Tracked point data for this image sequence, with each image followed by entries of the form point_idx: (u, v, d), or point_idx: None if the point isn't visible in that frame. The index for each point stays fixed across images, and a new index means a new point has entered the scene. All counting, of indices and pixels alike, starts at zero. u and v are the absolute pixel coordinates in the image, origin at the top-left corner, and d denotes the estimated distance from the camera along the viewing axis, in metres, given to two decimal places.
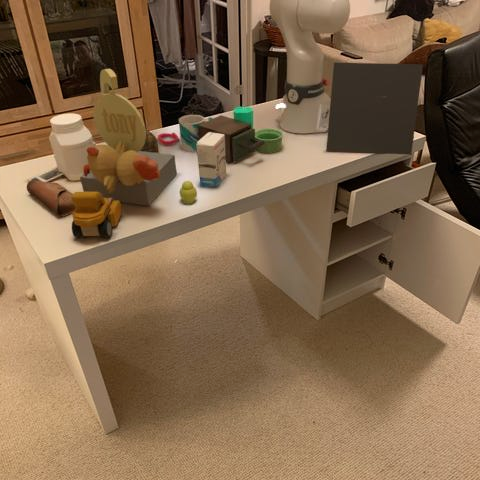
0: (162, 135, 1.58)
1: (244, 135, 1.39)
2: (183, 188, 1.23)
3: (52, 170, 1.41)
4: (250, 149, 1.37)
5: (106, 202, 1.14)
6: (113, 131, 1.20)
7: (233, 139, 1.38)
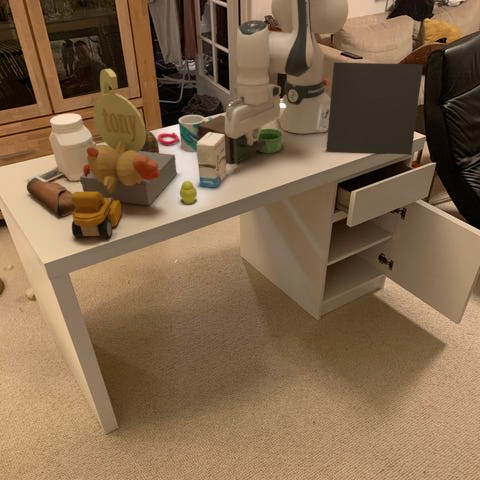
0: (162, 135, 1.58)
1: None
2: (183, 188, 1.23)
3: (52, 170, 1.41)
4: (251, 149, 1.37)
5: (106, 202, 1.14)
6: (113, 131, 1.20)
7: (234, 139, 1.37)
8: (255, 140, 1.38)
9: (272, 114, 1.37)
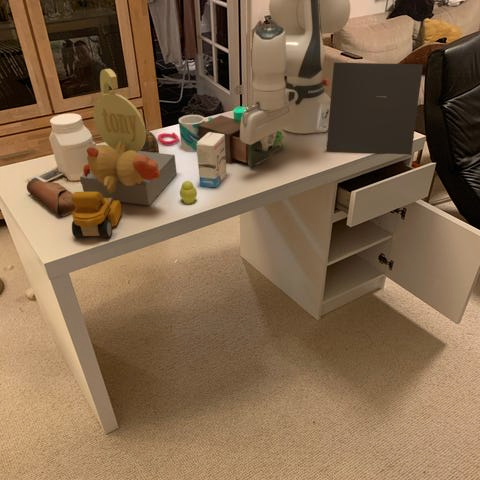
0: (162, 135, 1.58)
1: None
2: (183, 188, 1.23)
3: (52, 170, 1.41)
4: (266, 154, 1.34)
5: (106, 202, 1.14)
6: (113, 131, 1.20)
7: None
8: (270, 146, 1.36)
9: (287, 119, 1.35)
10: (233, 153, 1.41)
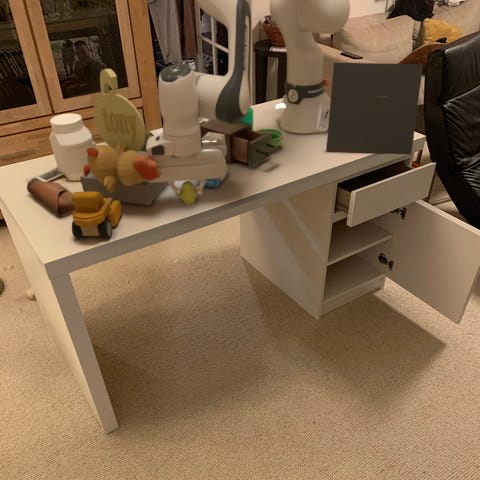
0: None
1: (261, 140, 1.37)
2: (183, 188, 1.23)
3: (52, 170, 1.41)
4: (267, 154, 1.34)
5: (106, 202, 1.14)
6: (113, 131, 1.20)
7: (250, 144, 1.35)
8: None
9: None
10: (234, 153, 1.41)
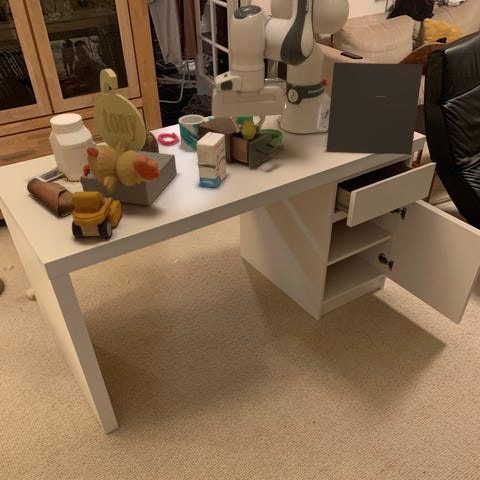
0: (162, 135, 1.58)
1: (261, 140, 1.37)
2: (245, 124, 1.36)
3: (52, 170, 1.41)
4: (267, 154, 1.34)
5: (106, 202, 1.14)
6: (113, 131, 1.20)
7: (250, 144, 1.35)
8: None
9: None
10: (234, 153, 1.41)
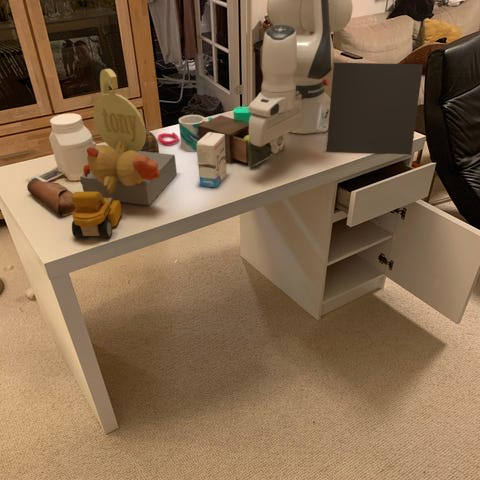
0: (162, 135, 1.58)
1: None
2: None
3: (52, 170, 1.41)
4: (266, 154, 1.34)
5: (106, 202, 1.14)
6: (113, 131, 1.20)
7: (249, 144, 1.35)
8: None
9: None
10: (233, 153, 1.41)
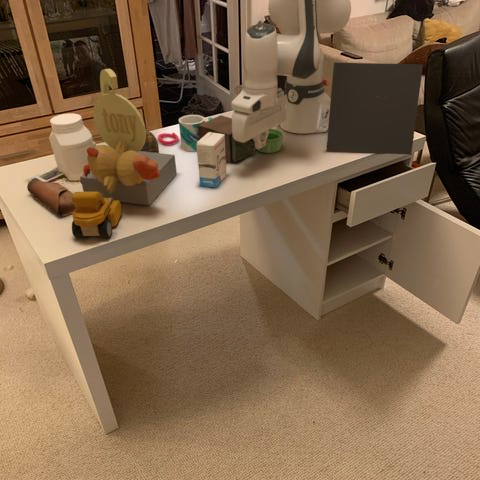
0: (162, 135, 1.58)
1: None
2: None
3: (52, 170, 1.41)
4: (250, 149, 1.37)
5: (106, 202, 1.14)
6: (113, 131, 1.20)
7: (233, 139, 1.38)
8: None
9: None
10: None
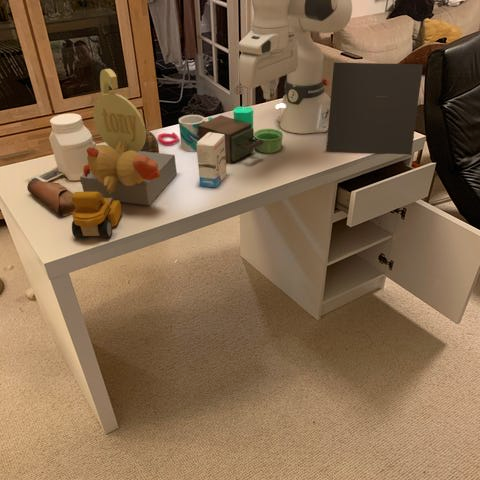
0: (162, 135, 1.58)
1: (243, 135, 1.40)
2: None
3: (52, 170, 1.41)
4: (249, 149, 1.38)
5: (106, 202, 1.14)
6: (113, 131, 1.20)
7: (232, 139, 1.38)
8: None
9: None
10: None
